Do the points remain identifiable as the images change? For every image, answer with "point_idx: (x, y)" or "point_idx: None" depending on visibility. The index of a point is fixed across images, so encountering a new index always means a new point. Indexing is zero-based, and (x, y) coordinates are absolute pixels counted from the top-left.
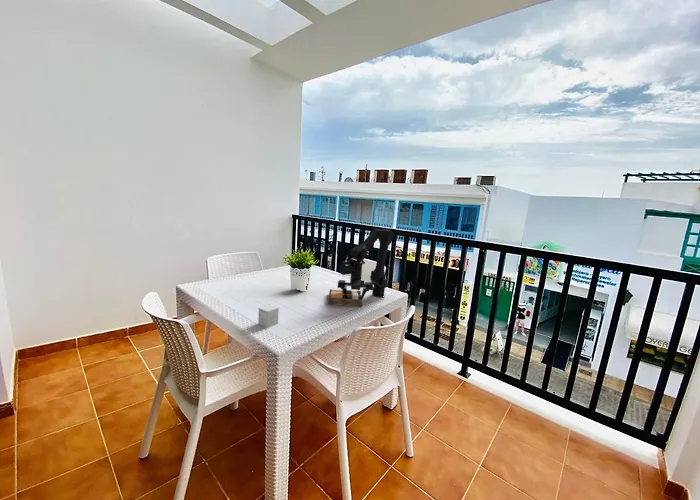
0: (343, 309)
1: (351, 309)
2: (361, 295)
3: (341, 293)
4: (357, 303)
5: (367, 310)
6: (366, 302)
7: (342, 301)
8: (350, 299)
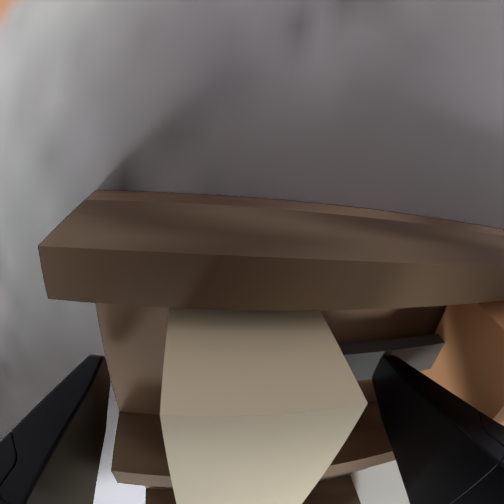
0: (460, 53)
1: (340, 24)
2: (114, 476)
3: (501, 415)
4: (187, 214)
5: (22, 15)
6: (45, 365)
7: (490, 248)
8: (394, 287)
